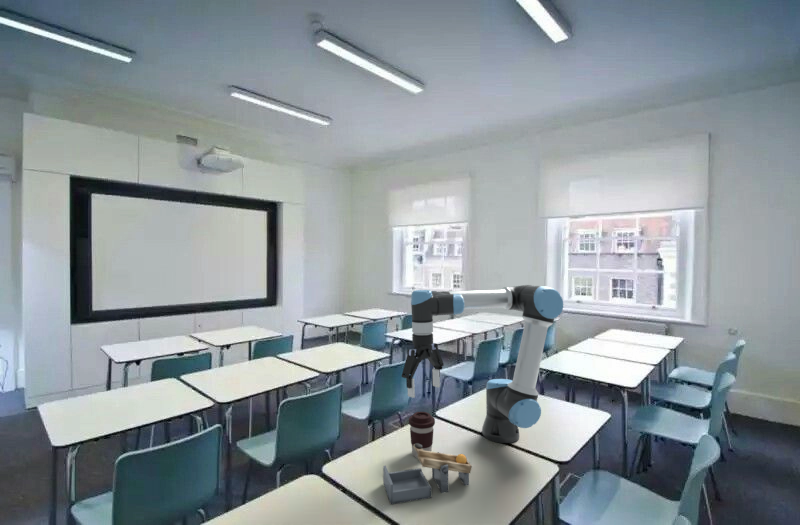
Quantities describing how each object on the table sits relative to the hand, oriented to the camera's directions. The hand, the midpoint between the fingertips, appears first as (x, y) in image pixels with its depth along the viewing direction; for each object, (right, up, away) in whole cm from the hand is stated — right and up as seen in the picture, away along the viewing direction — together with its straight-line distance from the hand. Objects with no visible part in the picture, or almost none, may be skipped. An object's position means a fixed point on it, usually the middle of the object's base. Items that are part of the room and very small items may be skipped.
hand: (424, 391), depth 136 cm
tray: (-7, -26, -16) cm, 31 cm away
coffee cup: (0, -26, +7) cm, 27 cm away
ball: (+12, -19, -11) cm, 25 cm away
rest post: (+13, -26, -10) cm, 31 cm away
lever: (+5, -20, -9) cm, 22 cm away
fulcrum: (+4, -26, -12) cm, 30 cm away
